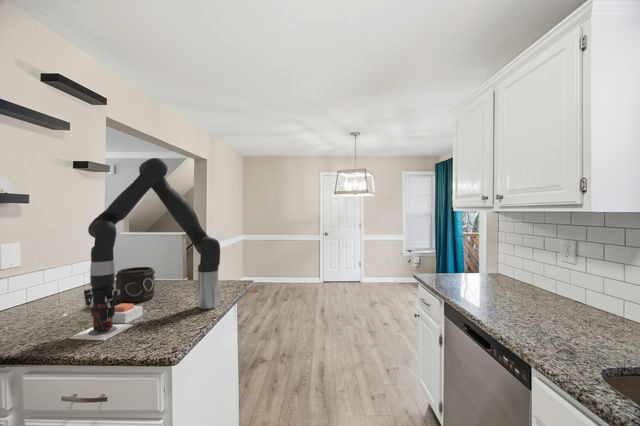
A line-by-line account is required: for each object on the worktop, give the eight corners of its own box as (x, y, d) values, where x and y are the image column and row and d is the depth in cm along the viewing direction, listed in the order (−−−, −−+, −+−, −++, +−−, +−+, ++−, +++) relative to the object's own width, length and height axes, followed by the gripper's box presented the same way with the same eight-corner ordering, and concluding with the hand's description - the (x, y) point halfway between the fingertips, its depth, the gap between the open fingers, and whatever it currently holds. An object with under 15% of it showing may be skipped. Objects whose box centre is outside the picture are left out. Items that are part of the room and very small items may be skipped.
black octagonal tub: (163, 297, 161) (163, 268, 161) (127, 306, 146) (126, 274, 146) (145, 293, 171) (145, 265, 171) (109, 301, 156) (109, 270, 156)
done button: (133, 310, 132) (133, 303, 132) (124, 314, 127) (124, 307, 127) (122, 310, 133) (122, 303, 133) (113, 314, 128) (113, 307, 127)
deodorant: (99, 325, 118) (99, 287, 118) (115, 324, 119) (115, 286, 119) (89, 331, 112) (89, 291, 112) (106, 330, 113) (106, 290, 113)
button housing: (142, 315, 134) (142, 306, 134) (125, 323, 124) (125, 313, 124) (121, 314, 135) (121, 305, 135) (103, 322, 125) (103, 312, 125)
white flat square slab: (133, 325, 122) (133, 324, 122) (104, 340, 108) (104, 339, 108) (101, 324, 123) (101, 323, 123) (69, 338, 109) (69, 337, 109)
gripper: (127, 271, 118) (127, 314, 118) (94, 270, 120) (94, 312, 120) (111, 275, 111) (112, 321, 111) (76, 274, 113) (77, 319, 113)
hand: (103, 316), depth 116 cm, fingers closed on deodorant, 6 cm apart
